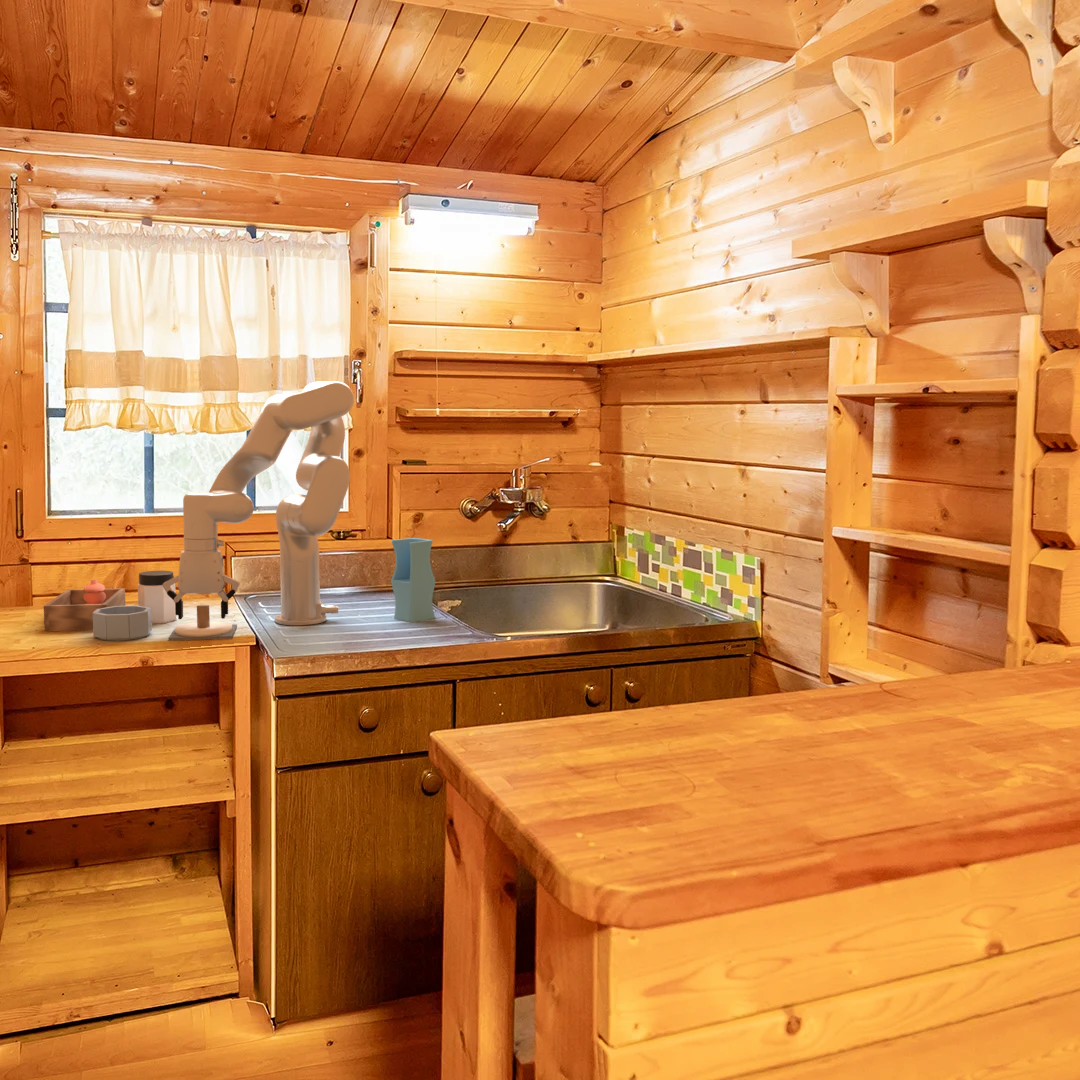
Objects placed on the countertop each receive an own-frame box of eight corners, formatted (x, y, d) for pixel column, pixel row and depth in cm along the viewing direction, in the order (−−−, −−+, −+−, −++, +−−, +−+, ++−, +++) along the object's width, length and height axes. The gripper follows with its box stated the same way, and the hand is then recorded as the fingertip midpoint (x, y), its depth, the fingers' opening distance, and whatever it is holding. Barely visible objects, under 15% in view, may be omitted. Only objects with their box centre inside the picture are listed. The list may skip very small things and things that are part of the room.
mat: (236, 626, 266) (236, 624, 266) (231, 638, 252) (231, 636, 252) (176, 628, 263) (176, 625, 263) (168, 640, 250) (168, 637, 250)
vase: (391, 618, 279) (390, 540, 276) (415, 614, 284) (414, 537, 282) (411, 622, 273) (411, 542, 271) (435, 618, 279) (435, 540, 277)
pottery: (96, 629, 262) (95, 589, 261) (55, 630, 261) (54, 589, 260) (119, 615, 280) (117, 577, 279) (80, 616, 279) (79, 577, 278)
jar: (180, 621, 272) (179, 573, 271) (147, 625, 267) (146, 576, 266) (167, 615, 279) (165, 569, 278) (135, 619, 274) (133, 572, 272)
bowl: (154, 629, 261) (153, 605, 261) (145, 640, 250) (145, 614, 249) (101, 631, 259) (100, 606, 258) (90, 641, 247) (89, 615, 247)
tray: (125, 611, 285) (124, 588, 284) (107, 629, 261) (106, 604, 261) (68, 612, 282) (67, 589, 281) (44, 631, 259) (43, 606, 258)
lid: (234, 624, 265) (234, 600, 265) (229, 635, 253) (229, 610, 252) (178, 626, 263) (177, 601, 262) (170, 637, 250) (170, 611, 249)
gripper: (240, 543, 261) (241, 614, 262) (164, 543, 257) (165, 615, 259) (237, 547, 253) (238, 620, 255) (159, 547, 250) (161, 621, 252)
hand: (202, 617), depth 257 cm, fingers open, 9 cm apart
